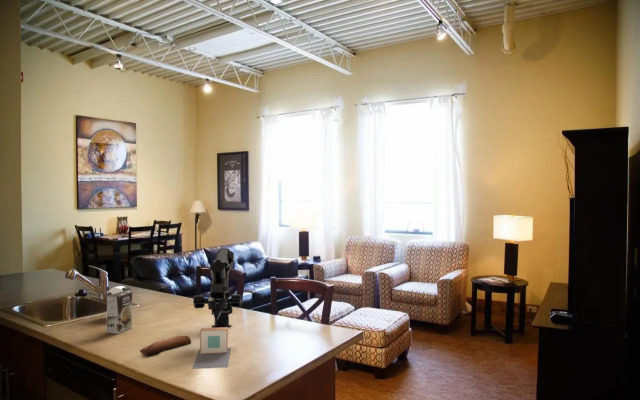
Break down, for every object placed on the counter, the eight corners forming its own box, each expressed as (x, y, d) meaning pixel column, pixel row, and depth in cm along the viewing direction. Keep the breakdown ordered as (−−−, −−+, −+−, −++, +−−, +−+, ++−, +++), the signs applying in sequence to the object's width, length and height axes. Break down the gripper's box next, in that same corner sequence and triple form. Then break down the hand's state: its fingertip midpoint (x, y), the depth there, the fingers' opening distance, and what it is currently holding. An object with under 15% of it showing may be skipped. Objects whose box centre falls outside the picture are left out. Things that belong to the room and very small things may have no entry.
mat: (199, 350, 163) (199, 348, 163) (230, 349, 165) (230, 347, 165) (192, 370, 144) (192, 368, 144) (227, 368, 146) (227, 367, 146)
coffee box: (119, 334, 181) (119, 296, 181) (105, 333, 182) (106, 295, 182) (132, 327, 190) (132, 292, 190) (119, 326, 191) (120, 291, 191)
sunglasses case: (180, 339, 175) (184, 327, 173) (188, 351, 171) (192, 339, 169) (137, 351, 162) (141, 338, 159) (144, 364, 158) (148, 351, 155)
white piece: (99, 318, 203) (99, 287, 203) (117, 312, 214) (117, 283, 214) (119, 321, 199) (119, 289, 199) (136, 315, 210) (137, 285, 210)
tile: (200, 351, 160) (201, 328, 160) (227, 350, 162) (228, 327, 162) (199, 354, 158) (200, 330, 157) (227, 353, 159) (227, 329, 159)
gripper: (194, 275, 171) (189, 310, 160) (240, 275, 174) (239, 308, 163) (196, 291, 179) (192, 324, 168) (241, 290, 182) (240, 323, 171)
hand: (216, 320), depth 167 cm, fingers closed
